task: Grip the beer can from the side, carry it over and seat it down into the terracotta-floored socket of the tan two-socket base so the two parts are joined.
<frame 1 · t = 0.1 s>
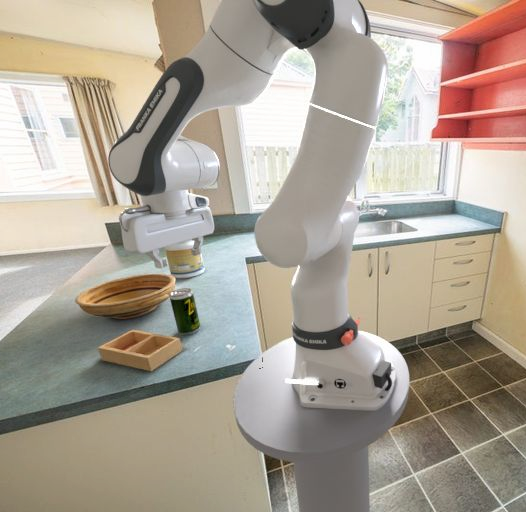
hand: (180, 260, 71), 23 cm above the worktop, tool pointing down, fingers open, 8 cm apart
socket base: (143, 355, 73), on the worktop
beer can: (190, 330, 84), on the worktop
tan oval bowl: (135, 310, 95), on the worktop
supplement tub: (188, 274, 125), on the worktop
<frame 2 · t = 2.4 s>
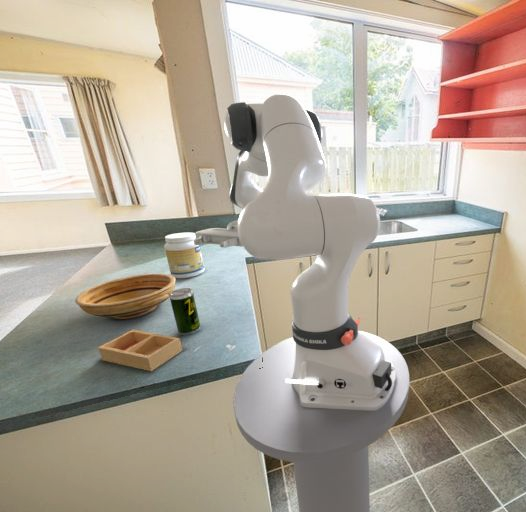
hand: (208, 243, 88), 22 cm above the worktop, tool horizontal, fingers open, 8 cm apart
nothing on the worktop moved.
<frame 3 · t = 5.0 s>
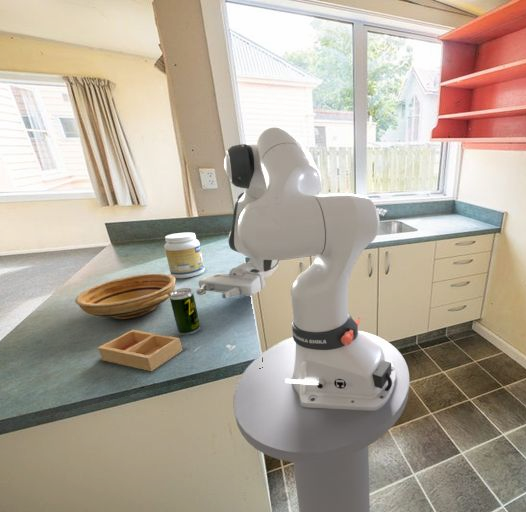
hand: (211, 294, 90), 7 cm above the worktop, tool horizontal, fingers open, 8 cm apart
nothing on the worktop moved.
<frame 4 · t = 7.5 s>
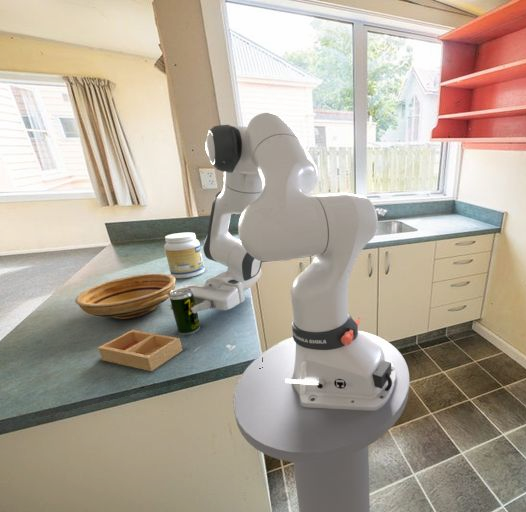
hand: (181, 309, 81), 7 cm above the worktop, tool horizontal, fingers closed on beer can, 5 cm apart
beer can: (190, 330, 84), on the worktop, touching gripper
everything else where it was.
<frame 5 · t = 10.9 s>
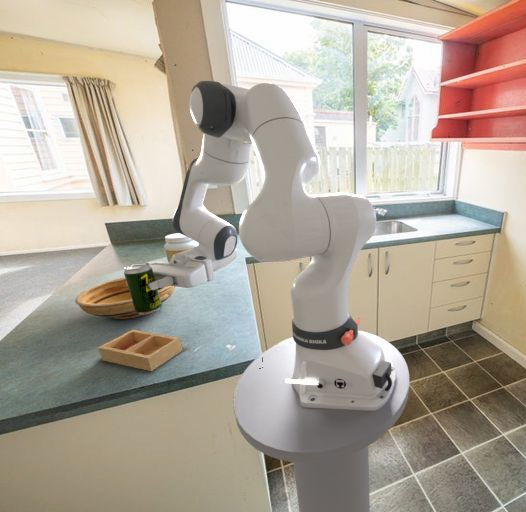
hand: (138, 285, 72), 17 cm above the worktop, tool horizontal, fingers closed on beer can, 5 cm apart
beer can: (149, 310, 75), point 9 cm above the worktop, touching gripper
everything else where it was.
when the fingers open (8 cm above the worktop, at t = 14.6 s): beer can stays where it is, resting on socket base.
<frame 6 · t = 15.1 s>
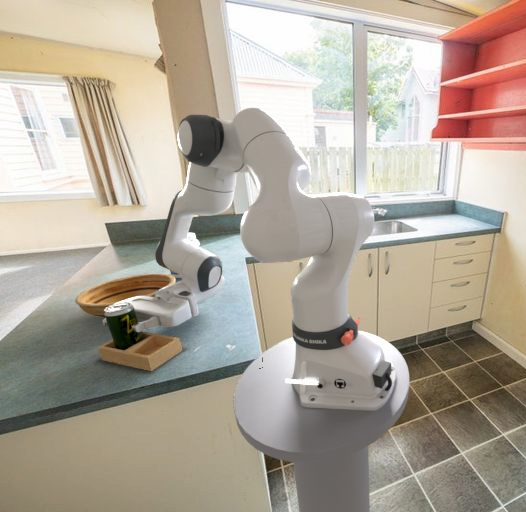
hand: (119, 326, 71), 8 cm above the worktop, tool horizontal, fingers open, 8 cm apart
beer can: (131, 350, 74), point 1 cm above the worktop, touching socket base
everything else where it was.
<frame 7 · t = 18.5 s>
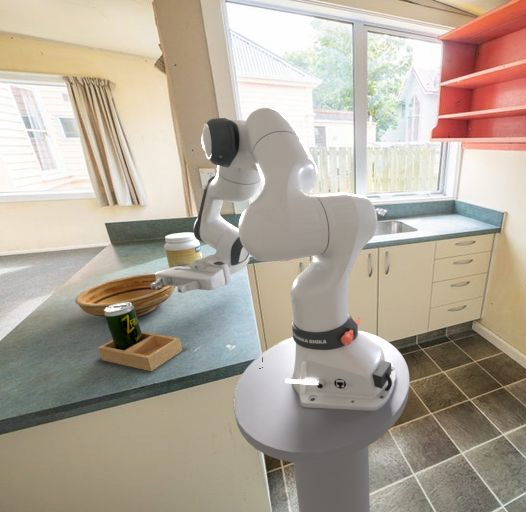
hand: (166, 288, 81), 12 cm above the worktop, tool horizontal, fingers open, 8 cm apart
nothing on the worktop moved.
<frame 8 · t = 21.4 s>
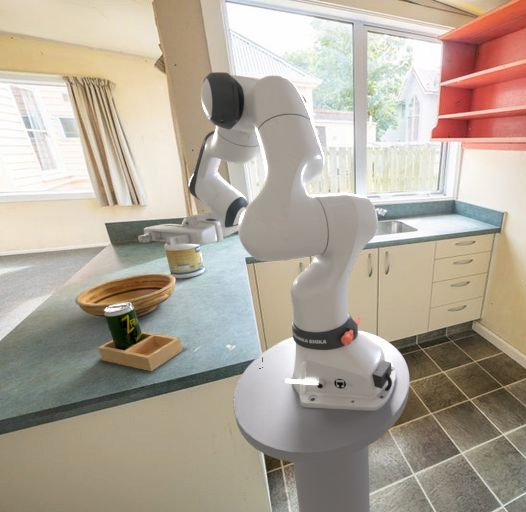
hand: (154, 240, 77), 26 cm above the worktop, tool horizontal, fingers open, 8 cm apart
nothing on the worktop moved.
at the end: beer can 0.2 cm from the target spot in the socket base, point 0.6 cm above the socket base's base; beer can tilted 0°; the gripper is holding nothing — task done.
